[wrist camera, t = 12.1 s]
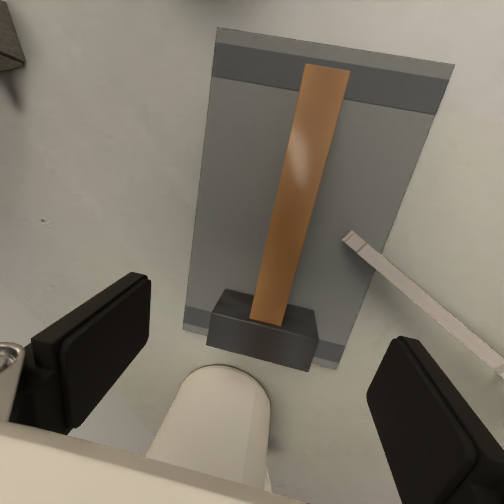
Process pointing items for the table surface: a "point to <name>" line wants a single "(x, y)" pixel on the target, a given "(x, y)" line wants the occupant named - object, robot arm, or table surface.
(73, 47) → the table surface
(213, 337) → the hammer
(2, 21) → the electronic device
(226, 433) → the mug
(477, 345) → the caliper
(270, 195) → the grey towel
